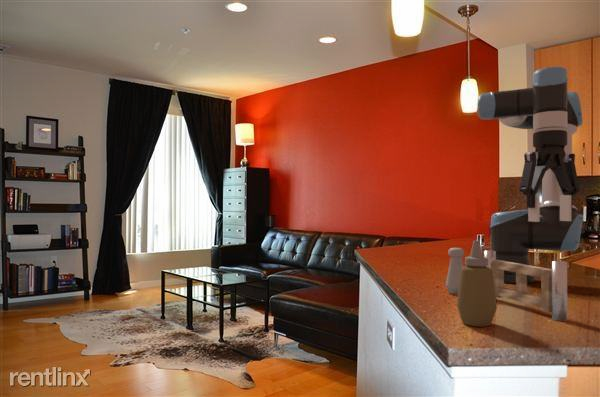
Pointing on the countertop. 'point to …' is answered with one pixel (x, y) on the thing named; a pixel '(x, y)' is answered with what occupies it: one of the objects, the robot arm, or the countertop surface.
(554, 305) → the gateposts
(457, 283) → the salt shaker
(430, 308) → the countertop surface
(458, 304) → the squeeze bottle
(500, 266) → the gate
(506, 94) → the robot arm
